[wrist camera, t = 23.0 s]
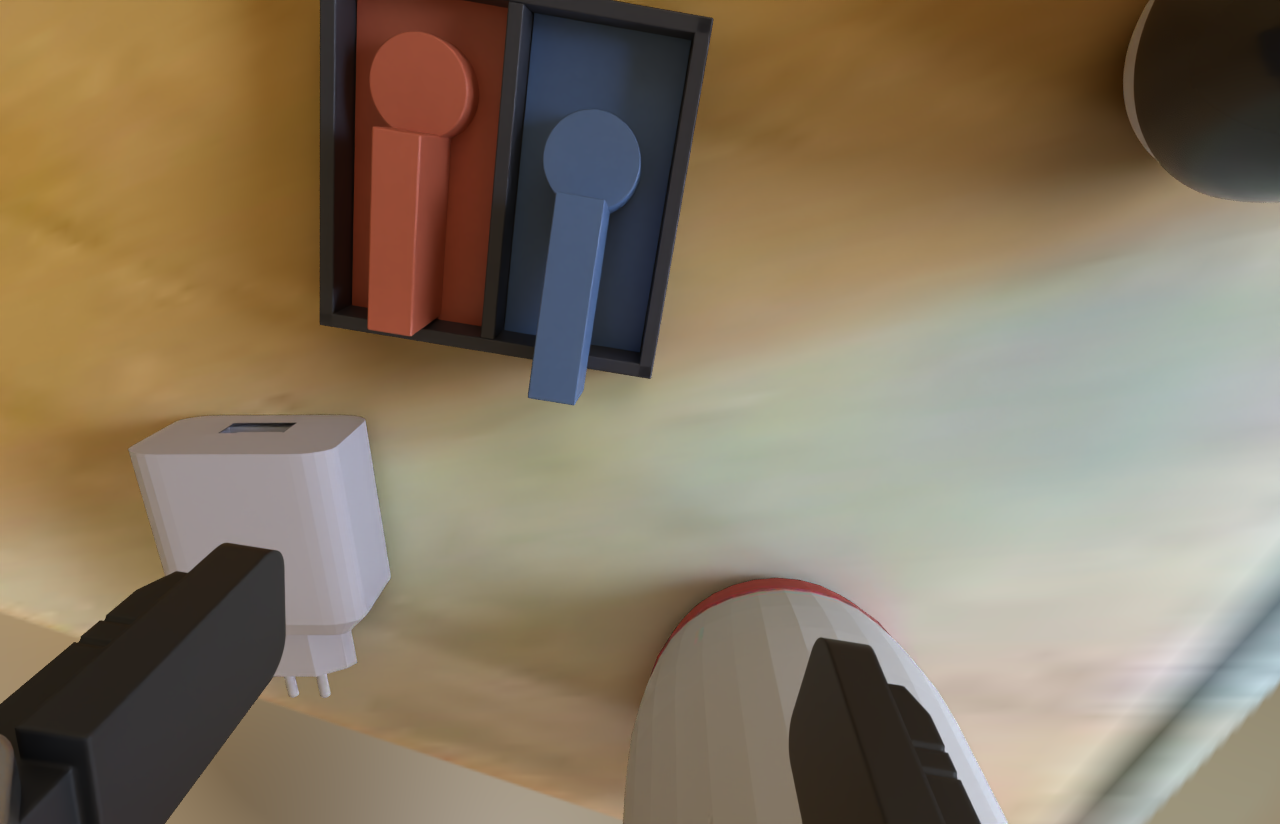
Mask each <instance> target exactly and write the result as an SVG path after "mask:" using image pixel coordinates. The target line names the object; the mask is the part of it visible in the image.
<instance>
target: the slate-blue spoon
mask: <svg viewBox="0 0 1280 824" xmlns="http://www.w3.org/2000/svg"><path fill="white" fill-rule="evenodd" d="M543 169H544V174H545V177H546V180H547V182H548V184H549V186H550V188H551V189H552V191H553V192H554V193H555V194H556V195H555V202H554V209H553V216H552V224H551V231H550V238H549V246H548V253H547V260H546V267H545V275H544V282H543V289H542V296H541V304H540V311H539V318H538V325H537V333H536V340H535V347H534V354H533V362H532V369H531V376H530V384H529V391H528V398H532V399H538V400H544V401H550V402H556V403H563V404H569V405H575V403H576V401H577V400H578V398H579V397H580V395H581V393H582V392H583V390H584V383H585V376H586V370H587V363H588V356H589V350H590V343H591V337H592V330H593V323H594V317H595V310H596V303H597V297H598V290H599V283H600V277H601V270H602V264H603V257H604V250H605V244H606V237H607V230H608V224H609V217H610V213H613V212H615V211H617V210H618V209H620V208H621V207H623V206H624V205H625V204H626V203H627V202H628V201H629V200H630V199H631V197H632V196H633V194H634V193H635V191H636V189H637V186H638V184H639V180H640V174H641V155H640V149H639V145H638V142H637V140H636V138H635V136H634V134H633V132H632V131H631V129H630V128H629V127H628V125H627V124H626V123H624V122H623V121H622V120H621V119H620V118H618V117H617V116H615V115H613V114H612V113H609V112H606V111H603V110H598V109H584V110H579V111H576V112H573V113H571V114H569V115H567V116H566V117H564V118H563V119H562V120H560V121H559V122H558V123H557V124H556V125H555V126H554V128H553V129H552V131H551V132H550V134H549V136H548V138H547V140H546V143H545V146H544V150H543Z"/></svg>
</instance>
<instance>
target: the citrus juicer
mask: <svg viewBox="0 0 1280 824" xmlns="http://www.w3.org/2000/svg"><path fill="white" fill-rule="evenodd" d="M820 637H822V638H829V639H835V640H842V641H848V642H854V643H861V644H867V645H870V646H871V647H872V648H873V650H874V652H875V654H876V656H877V659H878V661H879V664H880V666H881V668H882V671H883V673H884V676H885V678H886V680H887V683H888V684H895V685H901V686H905V688H906V689H907V690H908V691H909V692H910V693H911V694H912V695H913V696H914V697H915V699H916V700H917V701H918V702H919V703H920V704H921V705H922V706H923V707H924V708H925V709H926V711H927V712H928V713H929V714H930V715H931V717H932V719H933V722H934V724H935V726H936V728H937V730H938V732H939V734H940V737H941V739H942V741H943V743H944V745H945V752H947V753H948V754H949V756H950V758H951V760H952V762H953V764H954V767H955V769H956V771H957V779H959V780H961V782H962V784H963V786H964V788H965V790H966V792H967V794H968V797H969V799H970V801H971V803H972V805H973V807H974V810H975V812H976V814H977V816H978V818H979V820H980V822H981V824H1008V822H1007V820H1006V818H1005V816H1004V814H1003V812H1002V810H1001V808H1000V806H999V804H998V802H997V800H996V798H995V796H994V794H993V792H992V790H991V788H990V786H989V784H988V782H987V780H986V778H985V776H984V775H983V773H982V771H981V769H980V767H979V765H978V763H977V761H976V759H975V757H974V755H973V753H972V751H971V749H970V747H969V745H968V743H967V741H966V739H965V737H964V735H963V733H962V731H961V730H960V728H959V726H958V724H957V722H956V720H955V719H954V717H953V715H952V714H951V712H950V710H949V709H948V707H947V705H946V704H945V702H944V700H943V699H942V697H941V695H940V694H939V692H938V690H937V689H936V688H935V686H934V685H933V684H932V683H931V682H930V680H929V679H928V678H927V677H926V675H925V674H924V673H923V672H922V670H921V669H920V668H919V667H918V665H917V664H916V663H915V662H914V661H913V660H912V658H911V657H910V656H909V655H908V654H907V653H906V651H905V650H904V649H903V648H902V647H901V646H900V645H899V643H898V642H896V641H895V640H894V639H893V638H892V637H891V636H890V635H889V633H888V632H887V631H886V630H885V629H884V628H883V627H882V625H881V624H880V623H879V622H878V621H877V620H875V619H874V618H873V617H871V616H870V615H869V614H867V613H866V612H864V611H863V610H862V609H860V608H859V607H858V606H856V605H855V604H853V603H852V602H851V601H849V600H847V599H846V598H844V597H842V596H841V595H839V594H837V593H835V592H833V591H831V590H828V589H826V588H824V587H822V586H820V585H816V584H813V583H809V582H805V581H801V580H794V579H783V578H770V579H758V580H752V581H748V582H744V583H740V584H736V585H732V586H730V587H728V588H725V589H723V590H721V591H719V592H716V593H714V594H712V595H711V596H710V597H708V598H707V599H705V600H704V601H702V602H701V603H699V604H698V605H696V606H695V607H694V608H693V609H692V610H691V611H690V612H689V613H688V614H687V615H686V616H685V617H684V618H683V619H682V621H681V622H680V623H679V625H678V626H677V627H676V628H675V630H674V632H673V633H672V635H671V636H670V638H669V639H668V641H667V642H666V644H665V646H664V647H663V649H662V650H661V652H660V653H659V655H658V657H657V659H656V662H655V665H654V668H653V670H652V673H651V676H650V679H649V681H648V684H647V687H646V690H645V692H644V695H643V698H642V701H641V703H640V707H639V710H638V714H637V718H636V721H635V725H634V728H633V732H632V736H631V744H630V751H629V759H628V767H627V776H626V786H625V797H624V813H623V824H802V819H801V814H800V809H799V804H798V799H797V794H796V789H795V784H794V779H793V774H792V770H791V765H790V759H789V728H790V721H791V717H792V713H793V710H794V706H795V703H796V700H797V696H798V693H799V690H800V687H801V683H802V680H803V677H804V674H805V670H806V667H807V664H808V660H809V657H810V654H811V651H812V648H813V645H814V643H815V641H816V640H817V639H818V638H820Z"/></svg>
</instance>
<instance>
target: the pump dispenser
mask: <svg viewBox="0 0 1280 824" xmlns="http://www.w3.org/2000/svg"><path fill="white" fill-rule="evenodd" d="M1123 93H1124V101H1125V107H1126V111H1127V115H1128V118H1129V120H1130V123H1131V126H1132V128H1133V130H1134V132H1135V134H1136V136H1137V137H1138V139H1139V140H1140V142H1141V144H1142V145H1143V146H1144V148H1145V149H1146V150H1147V151H1148V152H1149V153H1150V155H1151V156H1153V157H1154V158H1155V159H1156V160H1157V161H1158V162H1159V163H1160V165H1161V166H1162V167H1163V168H1164V169H1165V170H1166V171H1167V172H1168V173H1169V174H1170V175H1172V176H1173V177H1174V178H1175V179H1177V180H1178V181H1179V182H1181V183H1182V184H1184V185H1186V186H1187V187H1189V188H1191V189H1193V190H1195V191H1197V192H1200V193H1202V194H1205V195H1208V196H1211V197H1215V198H1219V199H1225V200H1231V201H1240V202H1255V203H1279V202H1280V0H1149V1H1148V3H1147V5H1146V6H1145V8H1144V10H1143V12H1142V14H1141V16H1140V18H1139V20H1138V22H1137V25H1136V27H1135V29H1134V32H1133V34H1132V37H1131V40H1130V43H1129V46H1128V50H1127V54H1126V59H1125V66H1124V75H1123Z"/></svg>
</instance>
